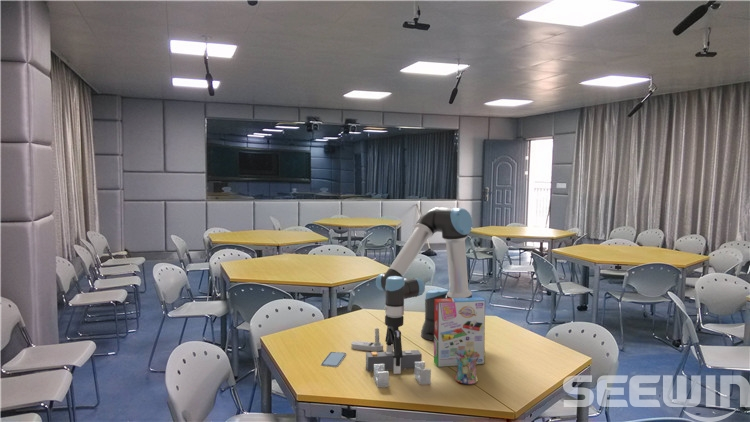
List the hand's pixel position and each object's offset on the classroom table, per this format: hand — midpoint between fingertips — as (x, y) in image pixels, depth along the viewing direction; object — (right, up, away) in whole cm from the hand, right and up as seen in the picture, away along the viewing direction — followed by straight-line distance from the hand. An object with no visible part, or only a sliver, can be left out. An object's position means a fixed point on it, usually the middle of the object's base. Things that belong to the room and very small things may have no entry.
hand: (393, 367), depth 193 cm
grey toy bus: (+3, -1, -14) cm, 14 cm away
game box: (+28, -1, +5) cm, 28 cm away
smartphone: (-25, 0, +8) cm, 26 cm away
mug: (+27, -2, -14) cm, 31 cm away
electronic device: (-11, +1, +22) cm, 25 cm away
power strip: (0, 0, 0) cm, 1 cm away
